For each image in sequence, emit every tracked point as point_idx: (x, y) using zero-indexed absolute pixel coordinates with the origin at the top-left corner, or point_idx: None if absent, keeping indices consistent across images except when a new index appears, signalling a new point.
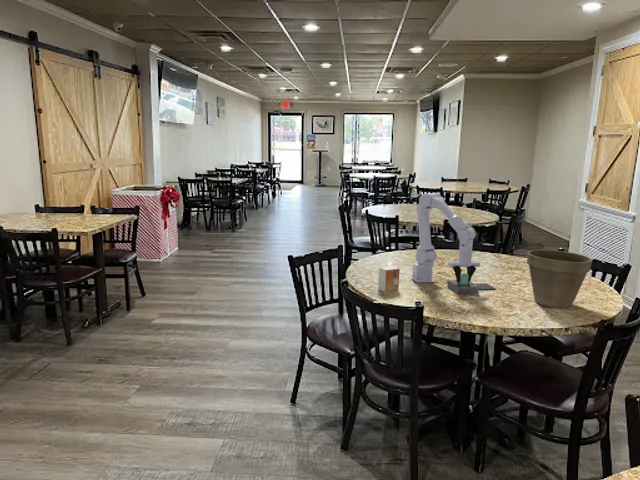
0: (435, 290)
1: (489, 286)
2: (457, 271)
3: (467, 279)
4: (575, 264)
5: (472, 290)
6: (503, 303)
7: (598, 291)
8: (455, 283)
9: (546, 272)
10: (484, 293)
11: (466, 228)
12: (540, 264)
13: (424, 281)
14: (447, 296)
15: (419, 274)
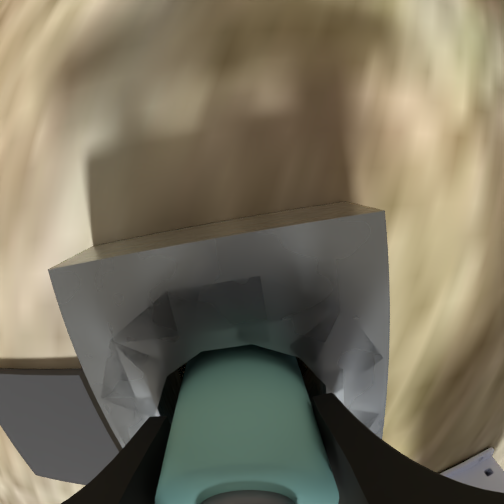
0: (487, 317)
1: (8, 421)
2: (482, 490)
3: (188, 425)
4: None
5: (150, 239)
6: (3, 5)
7: None
8: (357, 389)
9: None
10: (37, 269)
11: None
12: None
13: (456, 470)
14: (457, 133)
15: (497, 489)
